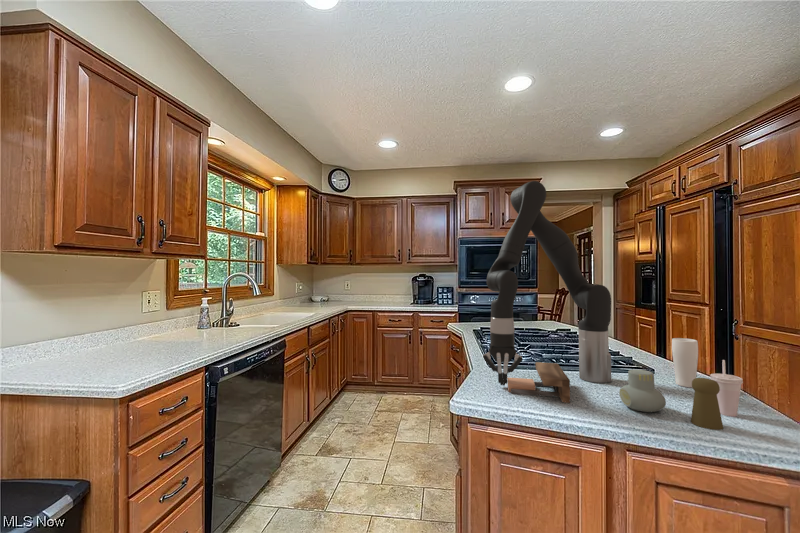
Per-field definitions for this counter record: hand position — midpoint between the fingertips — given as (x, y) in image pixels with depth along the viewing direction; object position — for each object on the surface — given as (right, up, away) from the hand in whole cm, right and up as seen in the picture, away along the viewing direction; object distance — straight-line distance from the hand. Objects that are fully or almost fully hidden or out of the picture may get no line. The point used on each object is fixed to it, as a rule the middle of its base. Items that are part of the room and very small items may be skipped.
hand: (502, 384), depth 116 cm
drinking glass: (+60, -1, +1) cm, 60 cm away
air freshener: (+33, -1, -19) cm, 38 cm away
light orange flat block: (+5, -1, -2) cm, 6 cm away
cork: (+41, 0, -29) cm, 51 cm away
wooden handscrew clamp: (+11, -1, -3) cm, 11 cm away
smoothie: (+52, 0, -23) cm, 57 cm away
